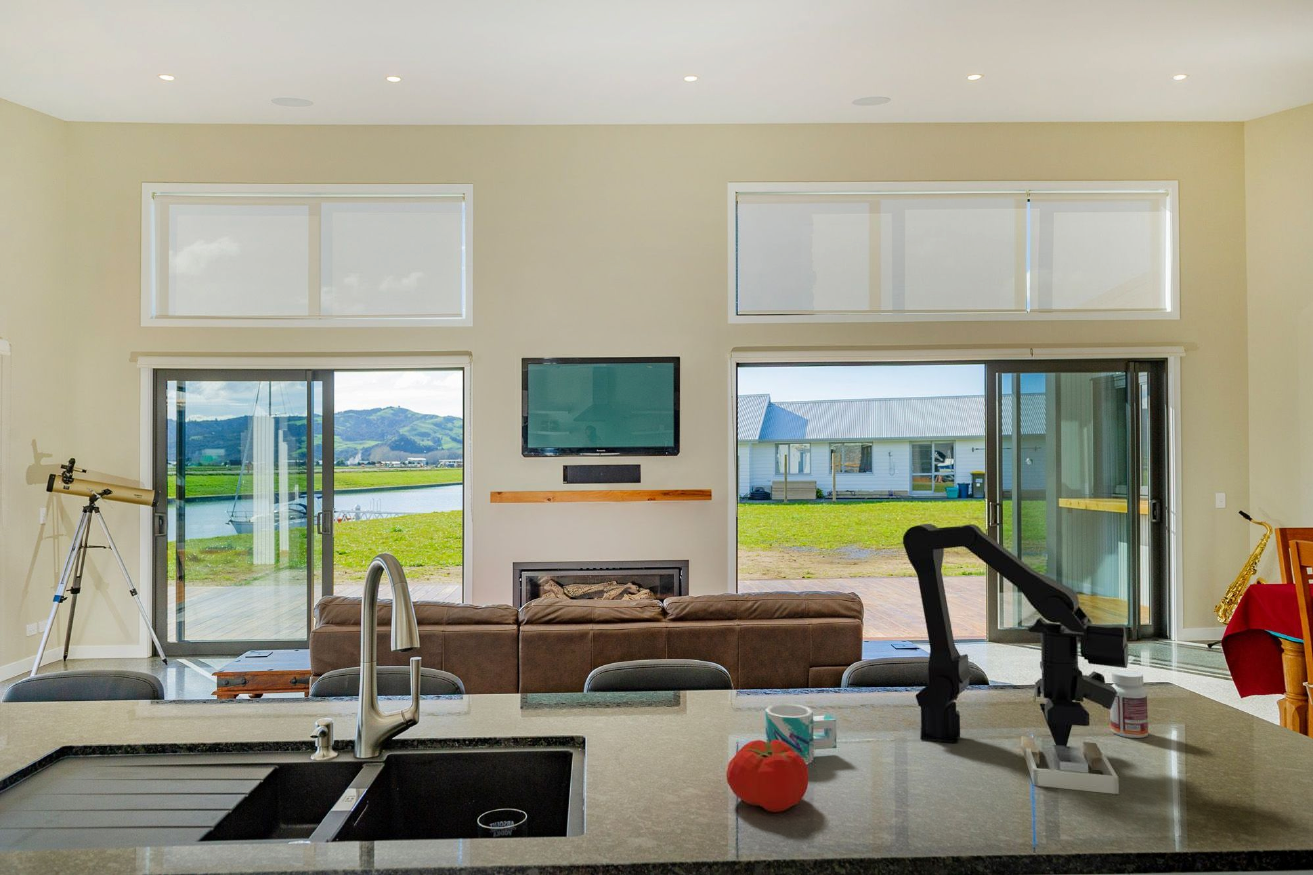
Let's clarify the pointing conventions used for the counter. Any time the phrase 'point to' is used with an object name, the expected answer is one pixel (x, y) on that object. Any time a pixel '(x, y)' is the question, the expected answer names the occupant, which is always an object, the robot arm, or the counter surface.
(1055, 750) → the block
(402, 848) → the counter surface
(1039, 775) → the chip tray
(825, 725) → the mug
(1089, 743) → the slot rails
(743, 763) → the tomato
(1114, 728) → the pill bottle
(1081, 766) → the chip near
